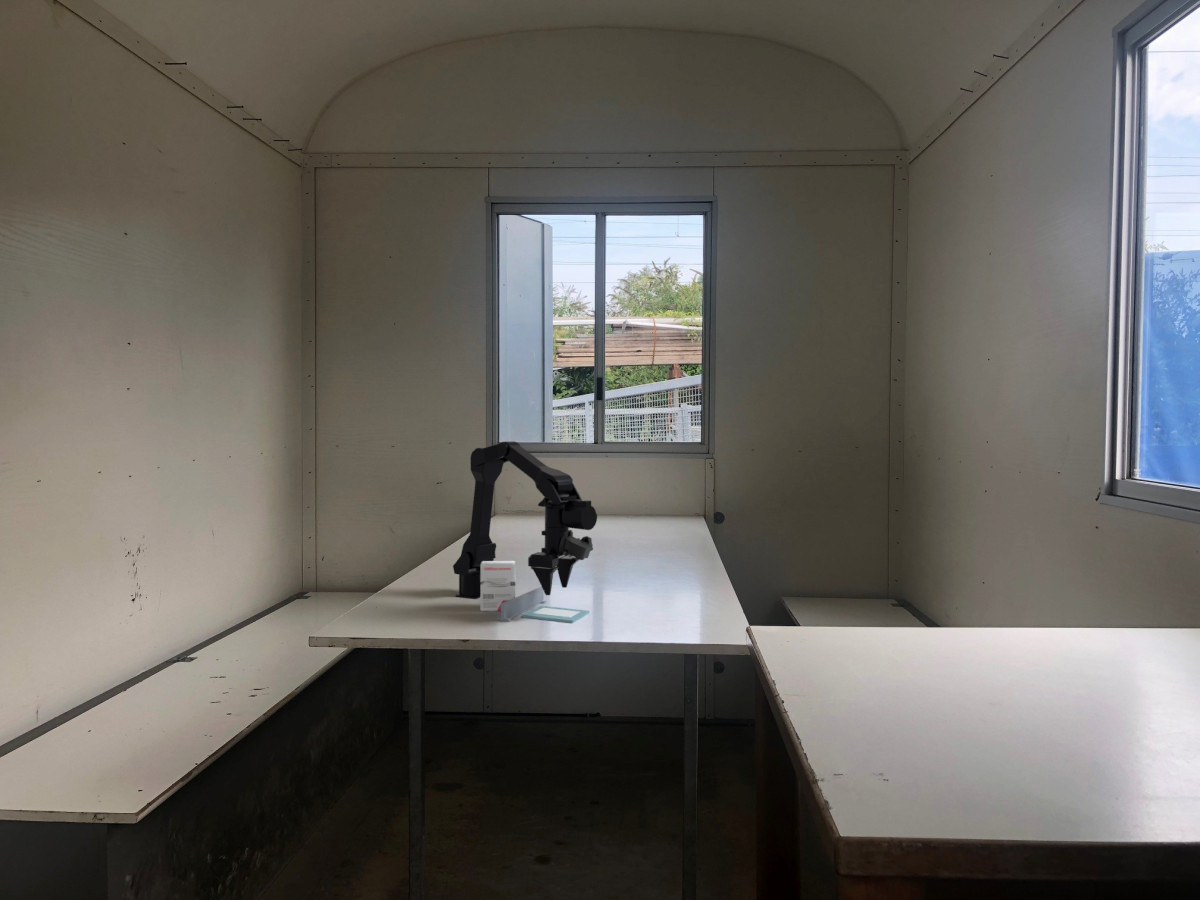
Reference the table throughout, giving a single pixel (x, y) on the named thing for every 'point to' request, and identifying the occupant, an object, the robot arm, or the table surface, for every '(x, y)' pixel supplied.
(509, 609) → the grey long bar
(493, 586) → the ink box
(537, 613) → the teal picture frame
